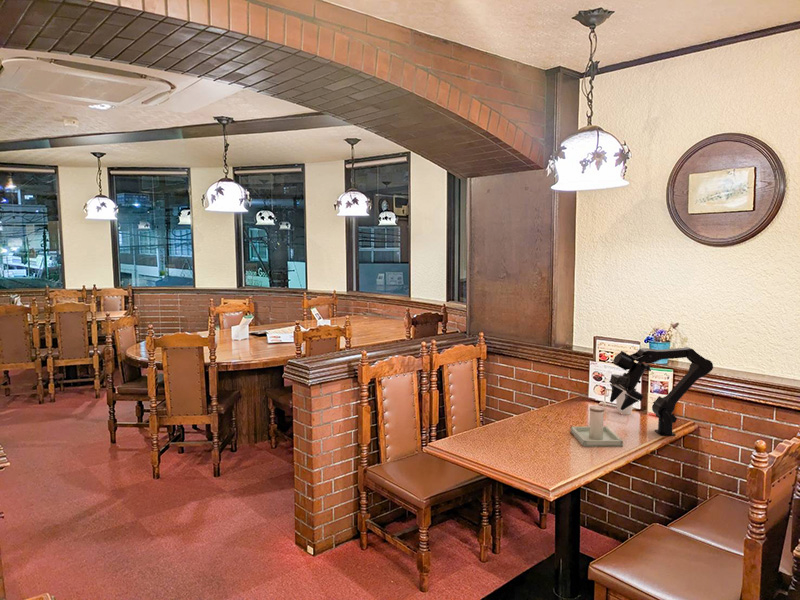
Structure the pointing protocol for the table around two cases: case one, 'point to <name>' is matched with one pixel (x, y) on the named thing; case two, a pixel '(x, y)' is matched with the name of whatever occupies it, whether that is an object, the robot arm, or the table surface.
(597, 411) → the tumbler
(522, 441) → the table surface
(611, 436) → the tray
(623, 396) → the foam cup
